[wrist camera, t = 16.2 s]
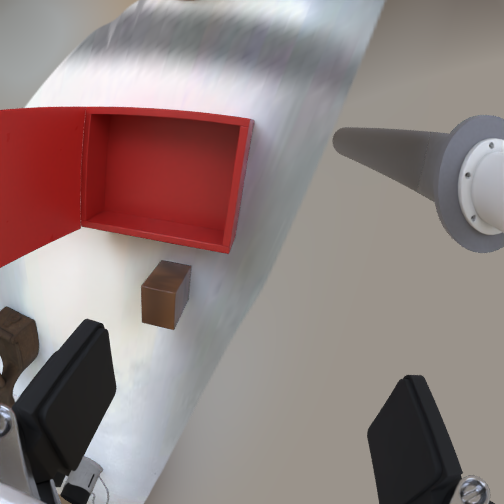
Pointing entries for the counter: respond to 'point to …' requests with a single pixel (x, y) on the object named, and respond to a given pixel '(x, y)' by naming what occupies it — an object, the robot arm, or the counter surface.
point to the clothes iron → (15, 349)
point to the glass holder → (82, 482)
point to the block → (165, 294)
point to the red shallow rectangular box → (164, 174)
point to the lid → (39, 177)
